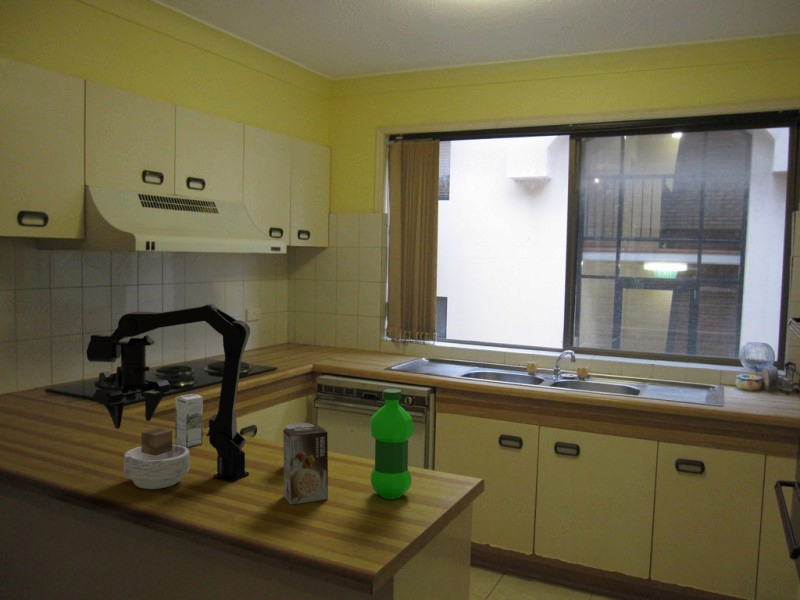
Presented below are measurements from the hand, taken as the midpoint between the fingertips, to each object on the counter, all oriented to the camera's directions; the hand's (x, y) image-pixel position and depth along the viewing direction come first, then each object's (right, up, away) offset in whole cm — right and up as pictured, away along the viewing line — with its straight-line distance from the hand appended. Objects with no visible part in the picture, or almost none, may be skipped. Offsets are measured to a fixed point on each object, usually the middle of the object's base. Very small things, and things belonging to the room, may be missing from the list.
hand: (133, 424), depth 164 cm
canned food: (+40, -14, +11) cm, 44 cm away
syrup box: (+5, -12, +29) cm, 32 cm away
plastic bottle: (+65, -15, -9) cm, 67 cm away
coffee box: (+45, -15, -11) cm, 49 cm away
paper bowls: (+7, -14, -3) cm, 16 cm away
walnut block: (+7, -6, -3) cm, 10 cm away
